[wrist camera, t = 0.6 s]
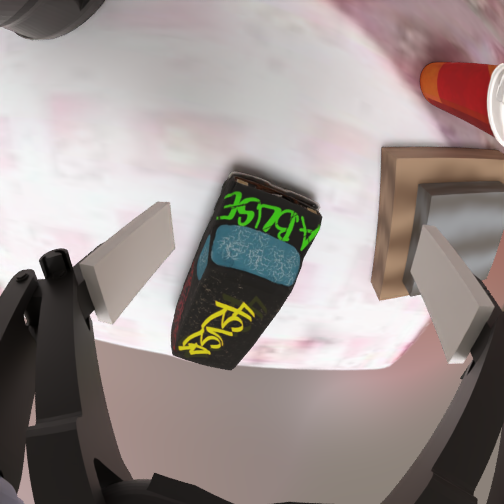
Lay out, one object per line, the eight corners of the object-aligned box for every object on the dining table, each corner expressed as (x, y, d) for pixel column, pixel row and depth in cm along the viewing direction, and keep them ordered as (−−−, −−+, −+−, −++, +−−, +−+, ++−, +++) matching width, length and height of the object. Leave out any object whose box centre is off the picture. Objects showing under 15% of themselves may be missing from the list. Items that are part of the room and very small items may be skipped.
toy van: (318, 195, 33) (341, 243, 25) (237, 326, 46) (236, 380, 38) (232, 158, 30) (225, 196, 22) (173, 307, 44) (161, 360, 35)
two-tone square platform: (381, 147, 29) (409, 168, 23) (497, 150, 28) (529, 169, 22) (370, 281, 41) (385, 316, 35) (471, 263, 39) (492, 290, 33)
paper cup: (470, 96, 24) (552, 129, 13) (432, 126, 27) (512, 171, 16) (440, 42, 21) (528, 51, 9) (399, 72, 24) (484, 89, 12)
